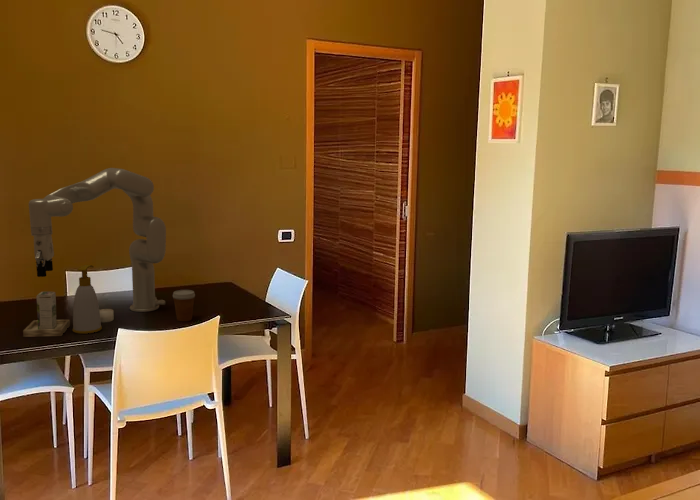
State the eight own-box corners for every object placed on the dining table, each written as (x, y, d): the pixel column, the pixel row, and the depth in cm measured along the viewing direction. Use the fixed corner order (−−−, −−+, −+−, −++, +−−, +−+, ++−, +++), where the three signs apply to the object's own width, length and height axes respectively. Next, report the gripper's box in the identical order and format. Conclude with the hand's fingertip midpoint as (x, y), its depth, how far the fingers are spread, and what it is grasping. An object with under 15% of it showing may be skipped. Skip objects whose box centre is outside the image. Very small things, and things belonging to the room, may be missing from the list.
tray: (70, 325, 279) (69, 319, 279) (61, 335, 266) (61, 329, 265) (33, 326, 277) (33, 320, 277) (23, 336, 263) (23, 330, 263)
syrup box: (42, 326, 274) (40, 291, 271) (57, 326, 275) (55, 291, 272) (37, 330, 268) (35, 294, 266) (53, 330, 269) (51, 294, 266)
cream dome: (115, 317, 292) (114, 308, 291) (112, 322, 285) (111, 313, 285) (97, 318, 291) (97, 309, 290) (94, 322, 284) (94, 313, 283)
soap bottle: (107, 327, 278) (105, 264, 274) (92, 335, 267) (89, 270, 262) (82, 325, 280) (79, 262, 275) (66, 333, 269) (62, 268, 264)
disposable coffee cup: (184, 323, 285) (183, 296, 283) (168, 320, 290) (167, 292, 288) (200, 318, 293) (200, 291, 291) (184, 315, 298) (184, 288, 296)
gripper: (45, 234, 256) (49, 278, 260) (57, 226, 273) (60, 268, 277) (24, 235, 255) (28, 279, 259) (37, 227, 272) (41, 269, 275)
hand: (45, 273), depth 268 cm, fingers open, 9 cm apart
